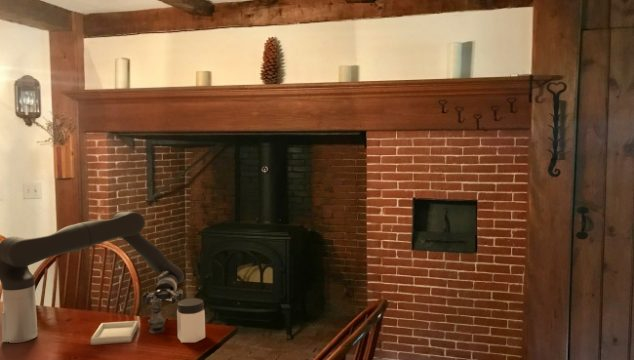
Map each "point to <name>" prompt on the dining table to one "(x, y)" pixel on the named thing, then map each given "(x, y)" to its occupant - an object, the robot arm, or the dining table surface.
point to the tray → (114, 332)
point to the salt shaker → (156, 317)
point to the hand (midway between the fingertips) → (160, 301)
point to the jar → (191, 320)
